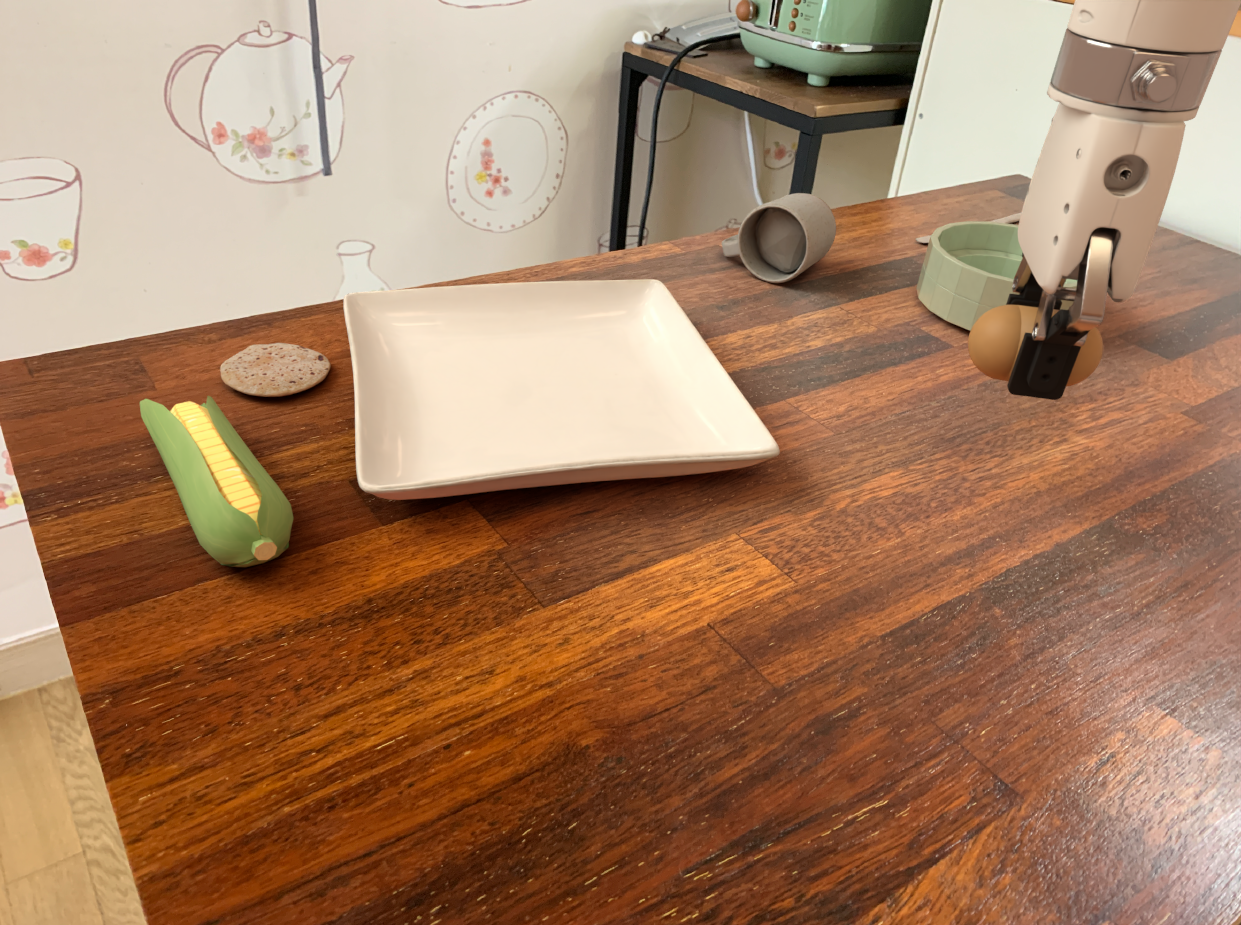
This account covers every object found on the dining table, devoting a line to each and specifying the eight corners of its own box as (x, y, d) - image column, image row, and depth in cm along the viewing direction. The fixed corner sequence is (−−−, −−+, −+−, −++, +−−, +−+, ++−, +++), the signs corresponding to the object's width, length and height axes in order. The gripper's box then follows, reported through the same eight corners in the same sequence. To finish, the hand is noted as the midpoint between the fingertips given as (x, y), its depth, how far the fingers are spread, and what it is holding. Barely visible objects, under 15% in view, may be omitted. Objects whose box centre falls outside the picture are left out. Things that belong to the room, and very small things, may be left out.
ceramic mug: (833, 267, 95) (848, 193, 91) (801, 293, 90) (815, 215, 85) (741, 242, 100) (751, 170, 95) (704, 264, 94) (713, 189, 90)
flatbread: (350, 377, 71) (349, 366, 70) (261, 413, 66) (259, 401, 65) (288, 340, 75) (286, 328, 74) (199, 371, 70) (197, 360, 69)
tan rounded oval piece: (1078, 369, 62) (1103, 303, 59) (1095, 406, 58) (1124, 337, 55) (955, 353, 63) (974, 287, 60) (964, 389, 59) (985, 320, 56)
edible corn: (224, 603, 51) (209, 538, 48) (134, 427, 64) (119, 369, 61) (316, 570, 53) (307, 507, 51) (213, 408, 66) (201, 351, 64)
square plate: (363, 539, 56) (357, 487, 54) (346, 330, 77) (341, 287, 75) (777, 491, 63) (787, 443, 61) (657, 312, 84) (661, 271, 82)
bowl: (1061, 289, 95) (1082, 233, 92) (1098, 359, 83) (1124, 297, 79) (909, 268, 97) (924, 212, 93) (922, 334, 84) (940, 272, 81)
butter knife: (1077, 209, 114) (1056, 200, 116) (929, 247, 101) (909, 235, 103) (1075, 214, 115) (1054, 205, 117) (927, 252, 102) (907, 240, 104)
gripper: (1266, 126, 42) (1119, 454, 53) (1156, 50, 56) (1057, 322, 67) (1094, 109, 43) (984, 436, 54) (1027, 38, 57) (950, 309, 67)
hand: (1025, 370), depth 60 cm, fingers closed on tan rounded oval piece, 4 cm apart
